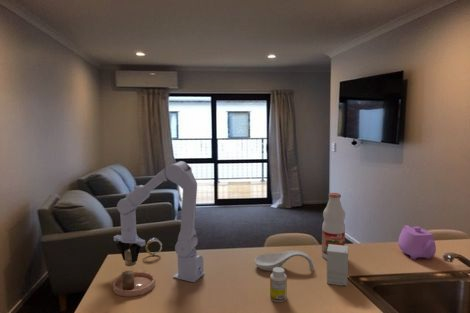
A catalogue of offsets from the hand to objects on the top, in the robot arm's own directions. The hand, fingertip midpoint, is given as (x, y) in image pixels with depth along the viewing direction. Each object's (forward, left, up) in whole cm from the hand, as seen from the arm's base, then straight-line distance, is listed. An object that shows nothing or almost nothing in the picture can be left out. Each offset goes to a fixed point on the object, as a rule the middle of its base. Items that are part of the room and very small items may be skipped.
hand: (130, 260), depth 135 cm
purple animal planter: (-104, -64, -5) cm, 122 cm away
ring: (+1, -16, -4) cm, 17 cm away
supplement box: (-76, -26, -5) cm, 80 cm away
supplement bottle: (-60, -5, -4) cm, 60 cm away
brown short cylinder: (-10, +12, -3) cm, 16 cm away
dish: (-10, +9, -4) cm, 14 cm away
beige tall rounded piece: (0, 0, -1) cm, 1 cm away
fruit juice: (-71, -47, -4) cm, 85 cm away
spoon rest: (-55, -28, -5) cm, 62 cm away
